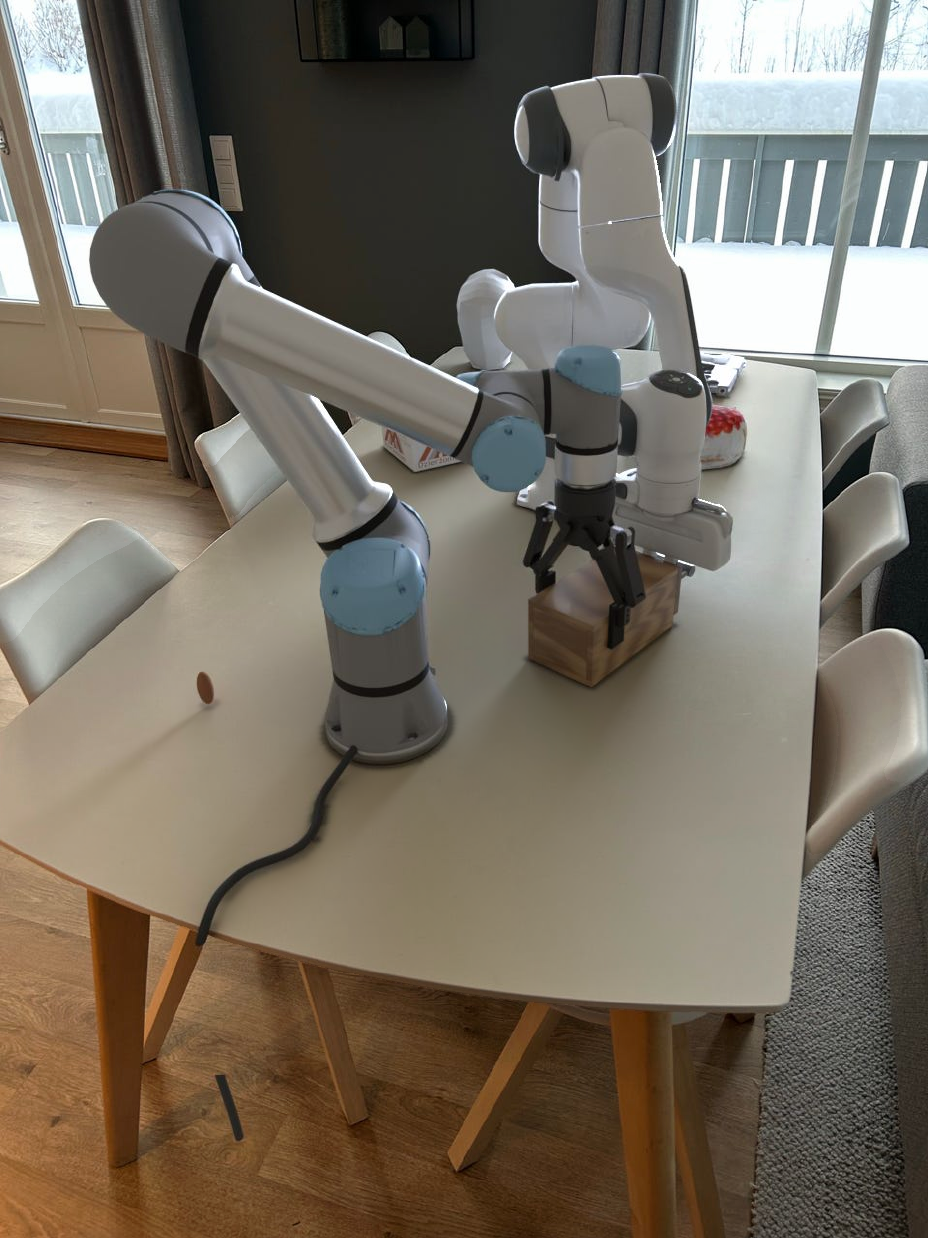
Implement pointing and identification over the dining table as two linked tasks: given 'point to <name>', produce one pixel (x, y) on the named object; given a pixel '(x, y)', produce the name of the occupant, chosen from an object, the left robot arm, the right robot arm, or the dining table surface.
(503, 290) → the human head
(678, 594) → the drawer
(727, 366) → the pistol
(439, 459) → the white printed box
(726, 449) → the cake
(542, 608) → the cabinet
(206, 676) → the brown oval piece
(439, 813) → the dining table surface
